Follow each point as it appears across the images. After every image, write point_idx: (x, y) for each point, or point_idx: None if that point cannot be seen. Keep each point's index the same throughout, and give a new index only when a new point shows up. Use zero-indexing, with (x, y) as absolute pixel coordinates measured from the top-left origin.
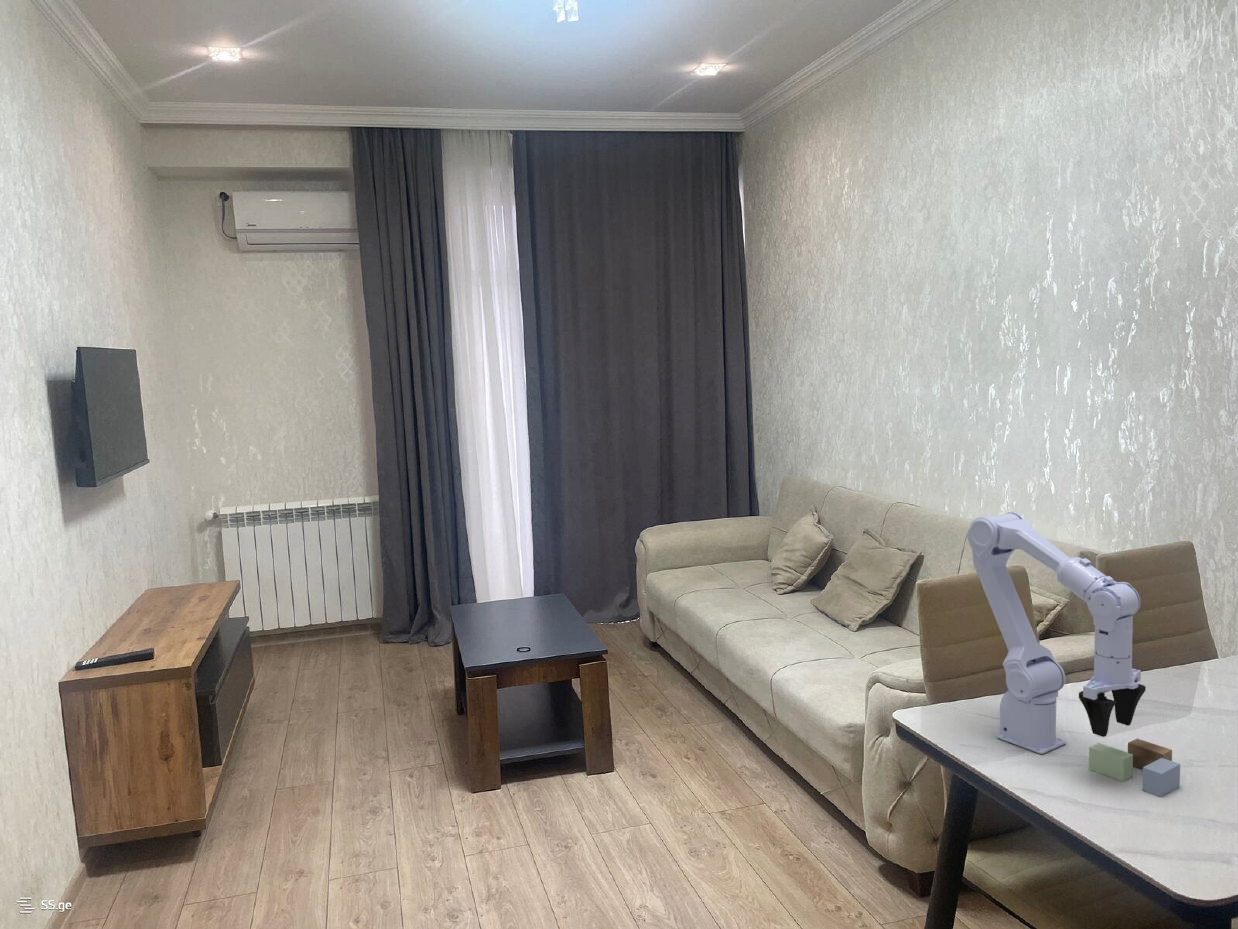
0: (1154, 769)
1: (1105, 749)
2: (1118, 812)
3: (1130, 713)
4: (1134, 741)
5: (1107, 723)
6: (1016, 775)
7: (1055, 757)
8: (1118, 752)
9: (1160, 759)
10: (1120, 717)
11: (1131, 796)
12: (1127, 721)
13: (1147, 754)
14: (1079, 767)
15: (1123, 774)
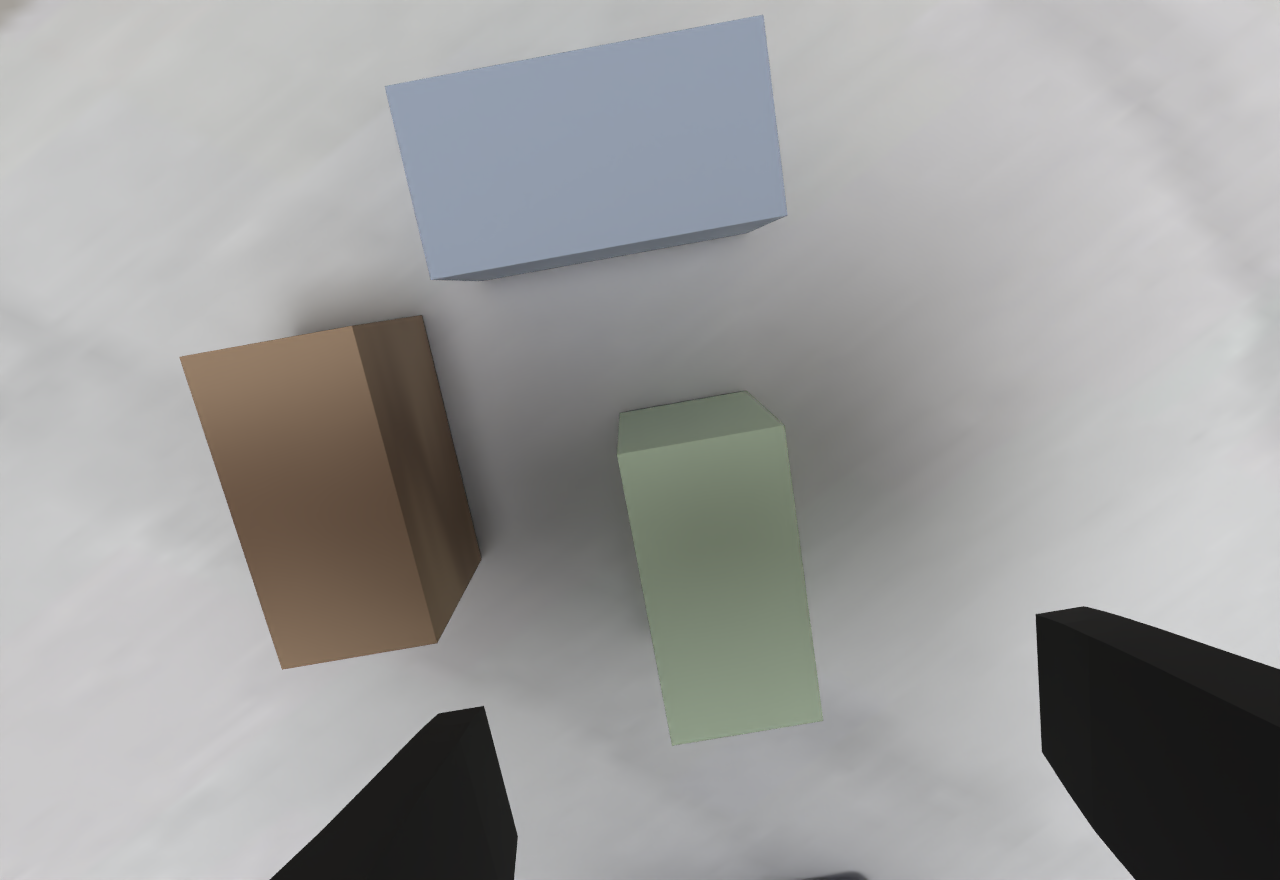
0: (729, 126)
1: (741, 633)
2: (1200, 74)
3: (411, 836)
4: (357, 637)
5: (1272, 692)
6: None
7: (812, 821)
8: (692, 544)
9: (475, 257)
10: (488, 869)
11: (894, 206)
12: (476, 756)
13: (408, 458)
14: None
15: (748, 401)
